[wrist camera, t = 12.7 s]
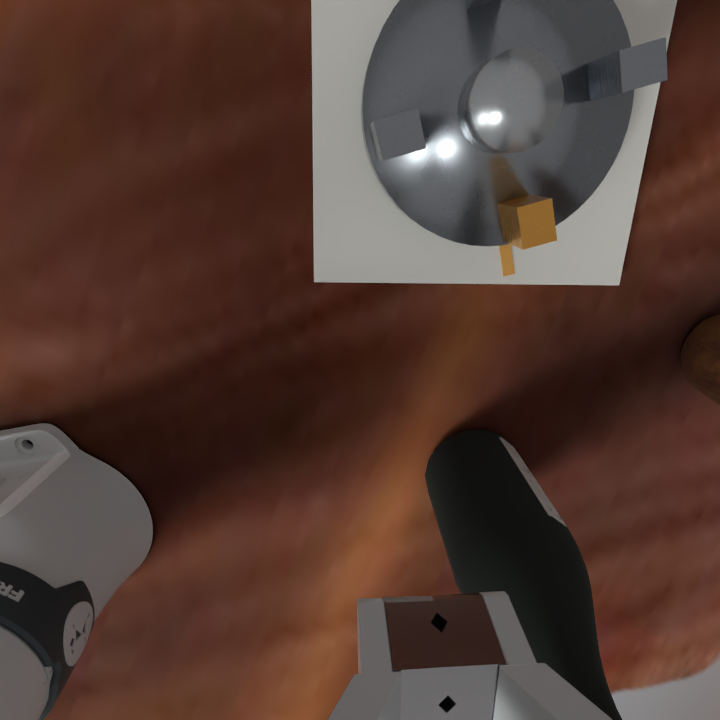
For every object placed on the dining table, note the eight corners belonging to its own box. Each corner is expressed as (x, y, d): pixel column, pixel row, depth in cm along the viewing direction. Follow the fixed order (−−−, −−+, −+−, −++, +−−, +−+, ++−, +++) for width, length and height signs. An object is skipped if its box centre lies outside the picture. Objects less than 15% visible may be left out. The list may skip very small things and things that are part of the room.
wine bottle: (520, 422, 42) (899, 926, 14) (512, 502, 45) (814, 1055, 17) (423, 426, 42) (617, 952, 14) (421, 507, 45) (578, 1080, 17)
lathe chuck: (514, 282, 36) (548, 304, 31) (314, 161, 33) (312, 160, 27) (664, 61, 32) (736, 38, 26) (453, -108, 28) (483, -176, 23)
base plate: (314, 277, 37) (313, 282, 35) (311, -104, 29) (310, -118, 28) (608, 281, 38) (619, 285, 37) (679, -83, 31) (697, -96, 29)
